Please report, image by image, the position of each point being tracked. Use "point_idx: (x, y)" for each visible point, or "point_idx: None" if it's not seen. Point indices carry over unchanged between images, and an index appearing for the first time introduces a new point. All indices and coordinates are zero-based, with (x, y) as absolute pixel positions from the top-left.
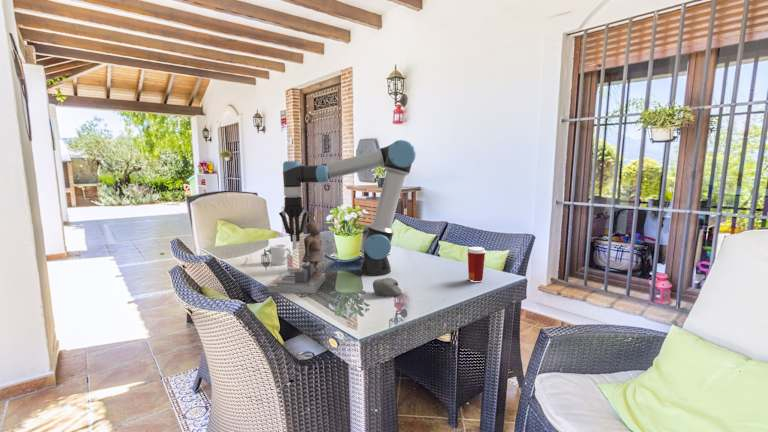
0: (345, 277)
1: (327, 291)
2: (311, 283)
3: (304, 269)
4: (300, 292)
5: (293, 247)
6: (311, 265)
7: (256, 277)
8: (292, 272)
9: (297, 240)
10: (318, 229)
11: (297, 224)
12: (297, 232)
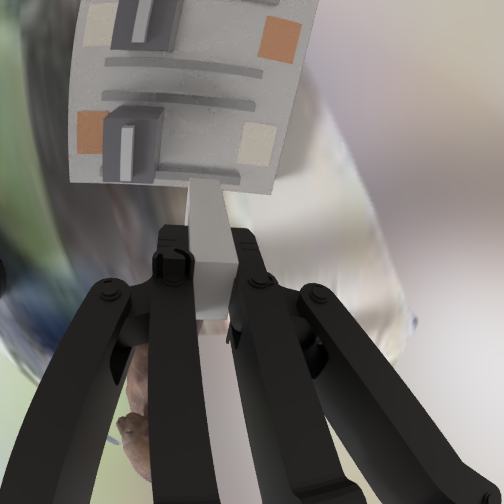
0: (18, 197)
1: (48, 13)
2: (101, 5)
3: (126, 42)
4: None
5: (216, 186)
6: (103, 142)
7: (365, 208)
8: (225, 174)
9: (175, 231)
10: (123, 439)
11: (153, 406)
12: (162, 288)
